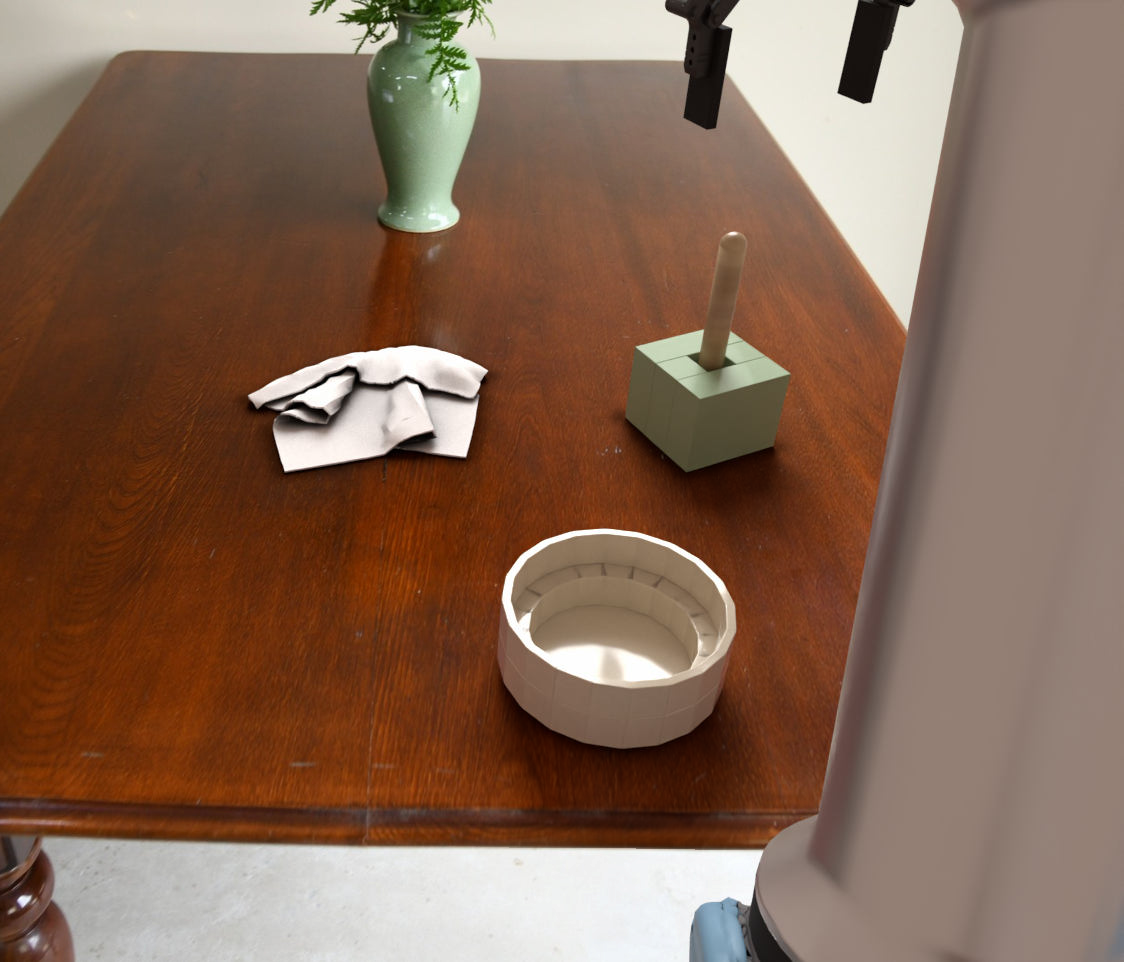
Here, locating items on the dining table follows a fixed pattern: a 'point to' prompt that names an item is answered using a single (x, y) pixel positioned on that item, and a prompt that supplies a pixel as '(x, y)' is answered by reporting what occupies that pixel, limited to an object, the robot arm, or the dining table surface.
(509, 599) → the bowl
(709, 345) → the stick
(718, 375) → the stand
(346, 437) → the cloth
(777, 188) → the dining table surface
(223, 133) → the dining table surface
